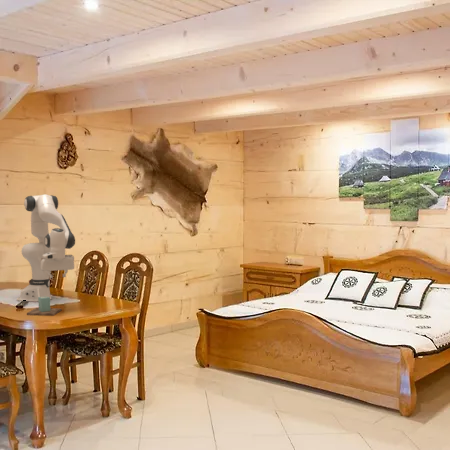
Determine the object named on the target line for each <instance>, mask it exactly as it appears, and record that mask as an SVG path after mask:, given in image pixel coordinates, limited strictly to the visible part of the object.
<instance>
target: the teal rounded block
mask: <svg viewBox="0 0 450 450" xmlns="http://www.w3.org/2000/svg"><path fill="white" fill-rule="evenodd" d="M37 304H38V308H39V311H41V312H45V311H50V308H51V300H50V297H47V296H45V297H38V303H37Z"/></svg>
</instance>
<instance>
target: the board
mask: <svg viewBox="0 0 450 450" xmlns="http://www.w3.org/2000/svg"><path fill="white" fill-rule="evenodd" d="M62 310H63V309H62V308H58V307H56V308H51V307H50V311H45V312H41V311H39V307H35V308H33V309H32V310H30V311H28V312H26V315H27V316H51V317H52V316H55V315H57V314H58V313H60V312H61V311H62Z"/></svg>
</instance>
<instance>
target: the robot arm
mask: <svg viewBox="0 0 450 450" xmlns="http://www.w3.org/2000/svg"><path fill="white" fill-rule="evenodd" d="M23 204H24V205H23V206H24V209H25V210H26V211H27V212H31V214H30V231H31V235H32V236H34V238H37V239H38V242H30V243H25V244H24V245H23V246H22V247H21V256H22V257H23V258H24V259H25V260H26V261H28V263H29V265H30V268H31V278H30V279H29V280H28V285H27V286H25V287H24V288H23V289H22V290H21V291H20V295H19V297H17V298H16V301H17V302H19V301H20V302H24V301H23V300H26V301H25V302H35V303H37V302H38V297H45V296H47V297H50V301H51V300H52V296H51V292H50V285H51V282H50V280H51V279H53V274H52V271H64V273H62V278H66V277H67V273H68V272H69V271H70V270H71V271H72V270H74V269H75V255H73V254H66V250H67V249H69V250H71V248H73V247H74V246H75V245H76V238H75V237H76V236H75V235H74V234H73V233H72V230H71V229H70V227H69V225H68V223H67V221H66V220H67V219H66V218H65V216H63V214H62V213H60V212H59V211H58V210H57V209H58V208H59V200H58V197H57V196H56V195H54V194H51V195H49V194H46V193H45V194H40V195H37V194H36V195H28V196H25V198H24V203H23ZM49 224H53V225H54V226H55V225H56V226H58V227H59V228H58V227H55V228H52V229H51V232H49Z"/></svg>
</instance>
